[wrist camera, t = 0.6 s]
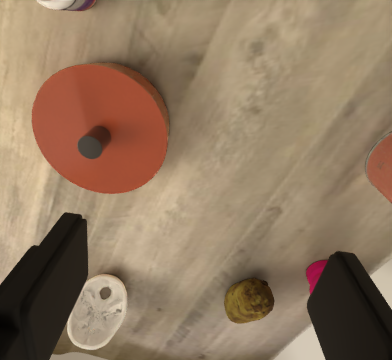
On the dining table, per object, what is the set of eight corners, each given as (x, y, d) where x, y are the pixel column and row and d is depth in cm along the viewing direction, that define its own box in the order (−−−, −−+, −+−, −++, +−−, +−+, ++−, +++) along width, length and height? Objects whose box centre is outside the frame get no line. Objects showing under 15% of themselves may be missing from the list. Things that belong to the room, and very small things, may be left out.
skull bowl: (70, 316, 63) (52, 347, 51) (94, 255, 64) (81, 271, 52) (116, 329, 65) (109, 362, 53) (139, 270, 66) (136, 289, 54)
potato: (207, 293, 60) (207, 329, 53) (251, 259, 55) (257, 294, 48) (236, 310, 62) (240, 347, 55) (281, 279, 57) (291, 315, 50)
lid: (44, 38, 33) (19, 41, 29) (187, 96, 35) (184, 107, 31) (30, 165, 41) (9, 182, 37) (147, 205, 44) (140, 225, 39)
